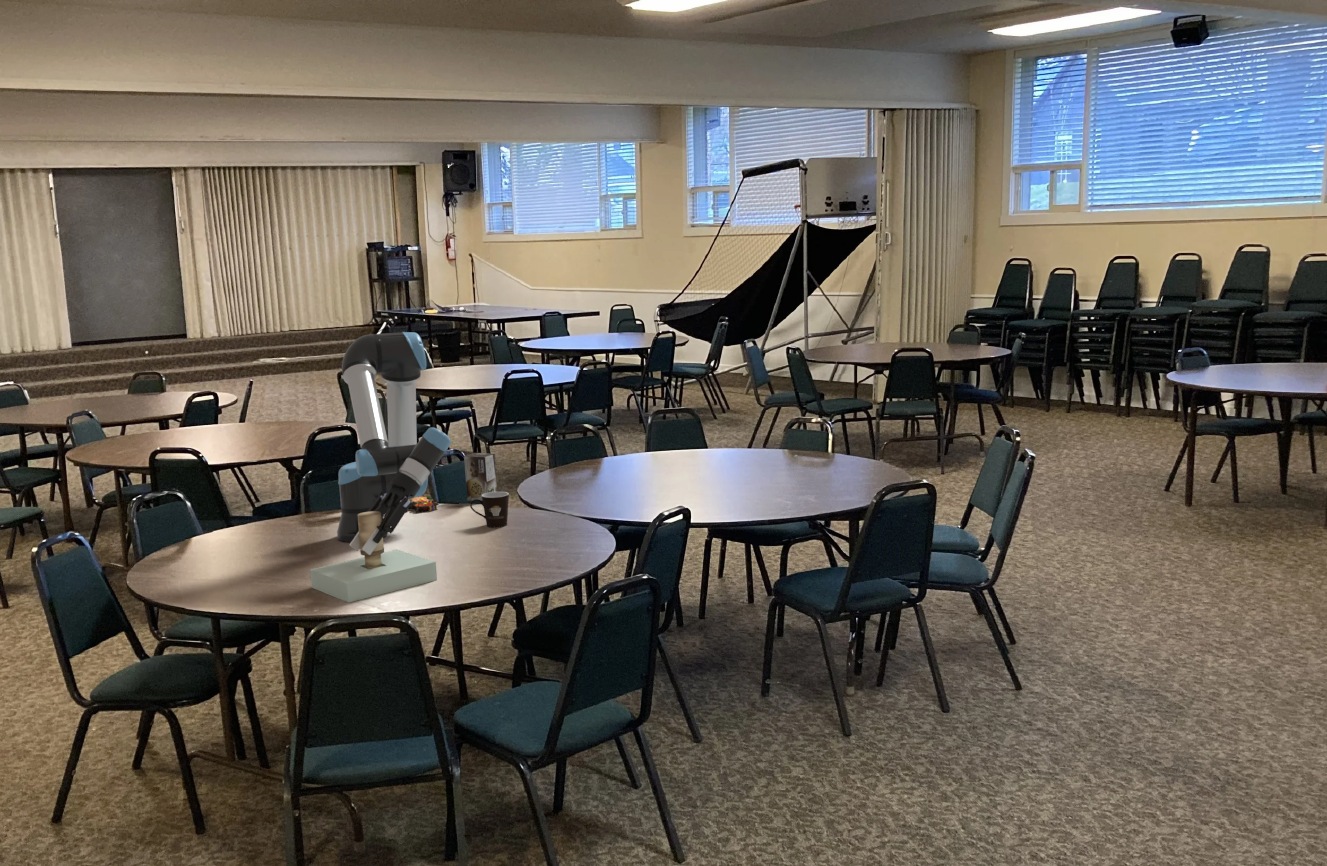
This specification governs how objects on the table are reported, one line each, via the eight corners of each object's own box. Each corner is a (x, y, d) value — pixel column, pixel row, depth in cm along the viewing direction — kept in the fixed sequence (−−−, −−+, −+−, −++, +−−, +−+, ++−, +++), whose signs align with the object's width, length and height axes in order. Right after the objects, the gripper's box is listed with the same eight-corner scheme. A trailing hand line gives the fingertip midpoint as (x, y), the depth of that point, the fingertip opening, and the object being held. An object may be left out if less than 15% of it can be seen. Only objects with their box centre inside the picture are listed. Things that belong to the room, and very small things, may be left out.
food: (378, 519, 385) (378, 509, 385) (370, 509, 402) (370, 499, 402) (444, 512, 393) (444, 501, 393) (434, 502, 410) (433, 492, 410)
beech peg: (357, 569, 308) (353, 514, 305) (378, 564, 312) (373, 510, 309) (369, 573, 303) (364, 517, 301) (389, 568, 307) (385, 513, 305)
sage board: (311, 587, 307) (310, 569, 306) (398, 566, 324) (396, 549, 323) (348, 602, 292) (347, 583, 291) (437, 579, 310) (435, 561, 309)
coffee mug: (515, 522, 372) (513, 492, 370) (503, 529, 364) (501, 498, 362) (482, 521, 375) (481, 490, 374) (470, 527, 367) (468, 496, 366)
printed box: (498, 498, 409) (495, 453, 407) (488, 502, 403) (485, 456, 401) (476, 496, 413) (473, 452, 410) (466, 500, 407) (463, 455, 405)
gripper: (437, 491, 308) (387, 563, 299) (400, 482, 322) (351, 551, 313) (418, 474, 303) (367, 547, 295) (382, 466, 317) (332, 536, 309)
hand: (359, 549), depth 304 cm, fingers closed on beech peg, 6 cm apart
